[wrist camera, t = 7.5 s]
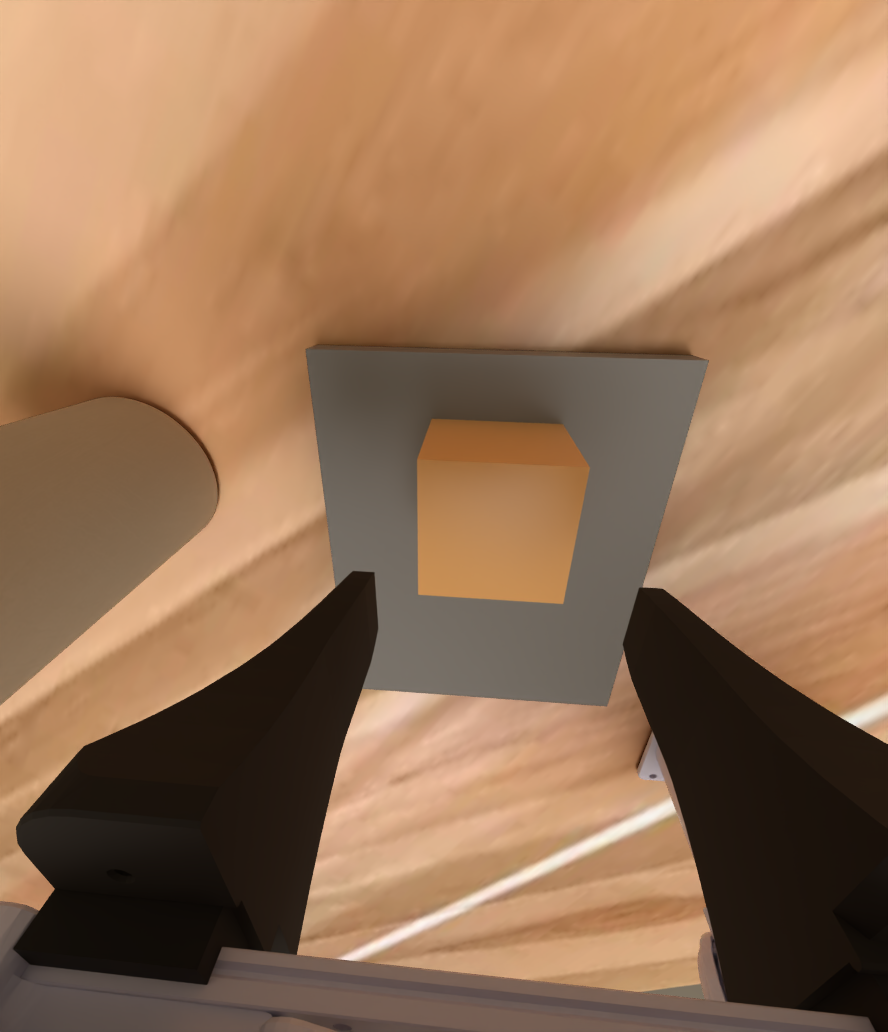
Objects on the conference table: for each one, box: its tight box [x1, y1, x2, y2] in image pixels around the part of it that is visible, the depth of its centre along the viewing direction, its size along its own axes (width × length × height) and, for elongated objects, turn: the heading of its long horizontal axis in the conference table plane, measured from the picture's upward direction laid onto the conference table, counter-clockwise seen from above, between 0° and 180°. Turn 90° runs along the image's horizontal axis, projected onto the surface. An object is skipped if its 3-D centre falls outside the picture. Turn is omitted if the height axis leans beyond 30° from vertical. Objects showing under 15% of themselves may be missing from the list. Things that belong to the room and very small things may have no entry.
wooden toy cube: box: [417, 419, 590, 604], centre depth 17 cm, size 6×6×5 cm
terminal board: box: [306, 345, 709, 706], centre depth 21 cm, size 16×20×5 cm
